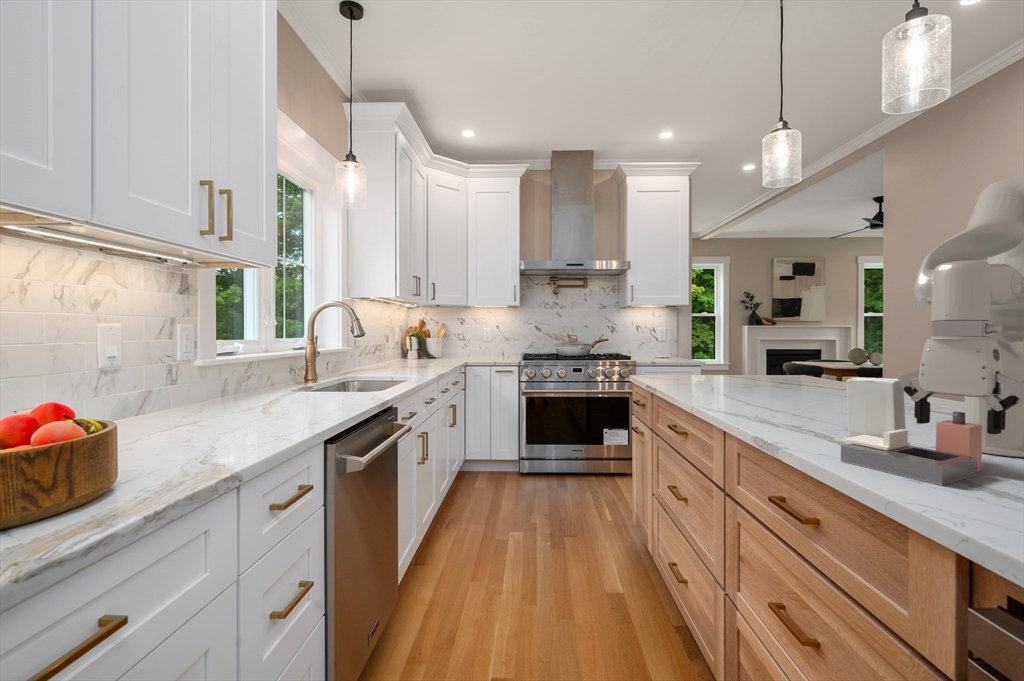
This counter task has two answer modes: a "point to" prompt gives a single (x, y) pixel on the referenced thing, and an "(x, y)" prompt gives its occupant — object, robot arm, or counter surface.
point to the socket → (913, 462)
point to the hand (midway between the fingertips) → (956, 428)
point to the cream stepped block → (882, 440)
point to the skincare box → (874, 406)
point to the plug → (960, 437)
